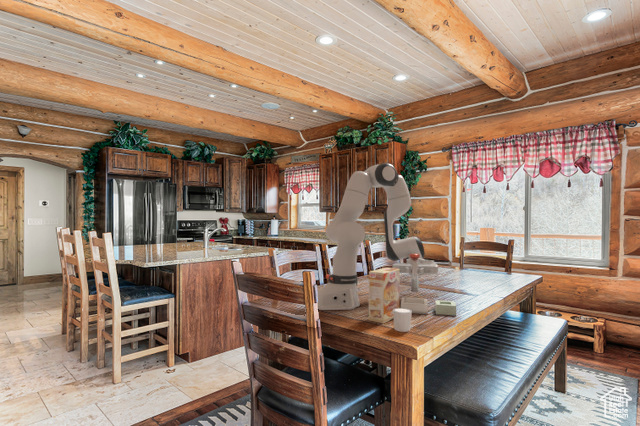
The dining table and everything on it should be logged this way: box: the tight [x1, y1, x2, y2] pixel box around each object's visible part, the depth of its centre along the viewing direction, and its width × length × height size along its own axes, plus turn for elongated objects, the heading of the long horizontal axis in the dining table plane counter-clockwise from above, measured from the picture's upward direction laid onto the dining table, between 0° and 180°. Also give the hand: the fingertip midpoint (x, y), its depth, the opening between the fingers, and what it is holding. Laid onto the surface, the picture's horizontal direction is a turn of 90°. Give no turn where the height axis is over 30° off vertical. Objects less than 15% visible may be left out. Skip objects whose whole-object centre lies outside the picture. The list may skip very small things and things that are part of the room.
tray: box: [400, 296, 428, 315], centre depth 156 cm, size 11×11×4 cm
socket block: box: [434, 299, 457, 316], centre depth 153 cm, size 8×8×4 cm
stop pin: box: [409, 254, 420, 293], centre depth 157 cm, size 4×4×16 cm
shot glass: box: [393, 307, 413, 333], centre depth 130 cm, size 7×7×7 cm
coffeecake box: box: [368, 267, 401, 324], centre depth 144 cm, size 15×7×20 cm, turn 143°
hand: (414, 271), depth 156 cm, fingers closed on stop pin, 3 cm apart
